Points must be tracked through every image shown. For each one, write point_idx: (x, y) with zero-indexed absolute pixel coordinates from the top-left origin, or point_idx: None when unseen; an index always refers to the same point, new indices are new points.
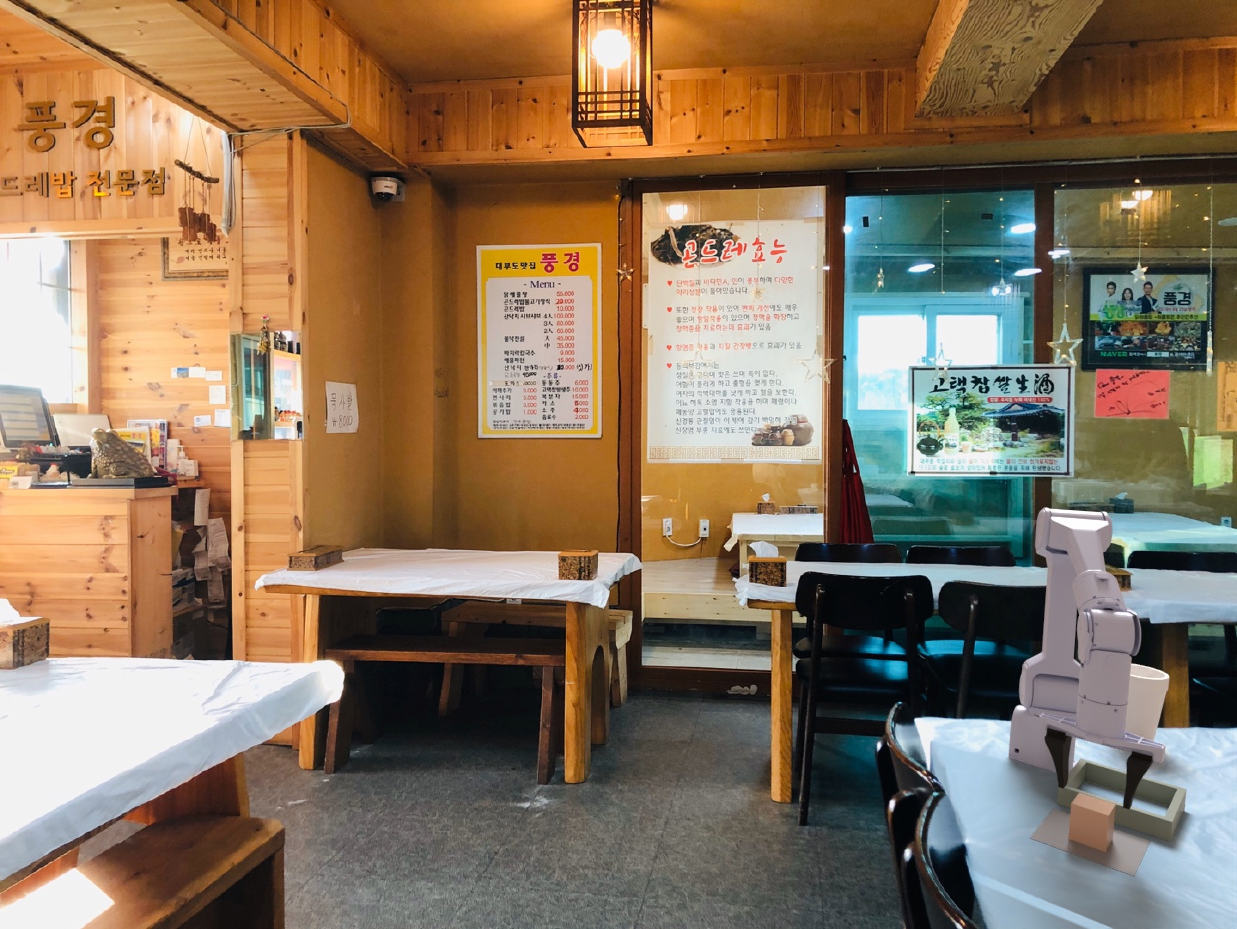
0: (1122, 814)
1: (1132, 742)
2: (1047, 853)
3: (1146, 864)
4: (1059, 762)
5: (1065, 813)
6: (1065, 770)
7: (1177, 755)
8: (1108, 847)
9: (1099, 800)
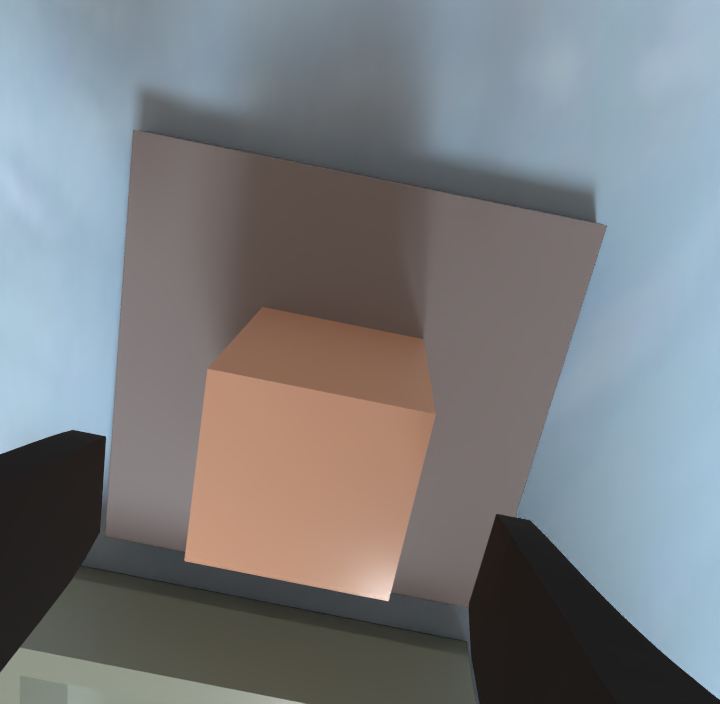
0: (201, 647)
1: None
2: (514, 175)
3: (115, 353)
4: (620, 654)
5: (434, 587)
6: (516, 653)
7: None
8: None
9: (272, 560)
